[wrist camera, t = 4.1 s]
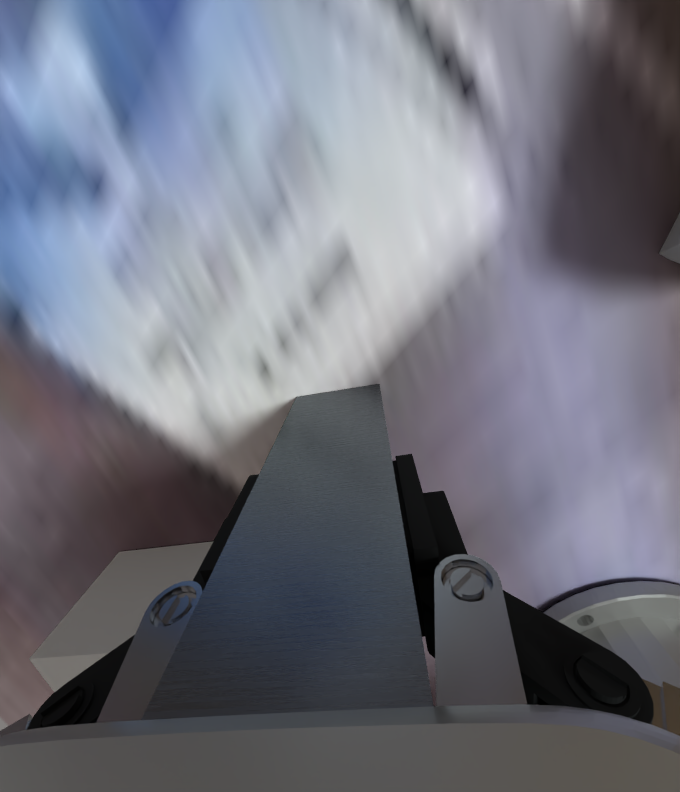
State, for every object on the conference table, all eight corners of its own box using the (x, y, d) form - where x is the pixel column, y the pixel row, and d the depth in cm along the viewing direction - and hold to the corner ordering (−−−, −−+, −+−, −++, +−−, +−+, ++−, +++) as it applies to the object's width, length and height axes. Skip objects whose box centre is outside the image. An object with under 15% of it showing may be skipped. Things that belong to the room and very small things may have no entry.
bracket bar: (379, 383, 16) (471, 937, 3) (390, 457, 17) (488, 1059, 4) (296, 396, 16) (41, 925, 3) (313, 467, 18) (185, 1039, 5)
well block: (382, 522, 19) (392, 632, 13) (410, 682, 23) (427, 813, 18) (119, 551, 21) (29, 659, 15) (195, 694, 25) (149, 816, 20)
